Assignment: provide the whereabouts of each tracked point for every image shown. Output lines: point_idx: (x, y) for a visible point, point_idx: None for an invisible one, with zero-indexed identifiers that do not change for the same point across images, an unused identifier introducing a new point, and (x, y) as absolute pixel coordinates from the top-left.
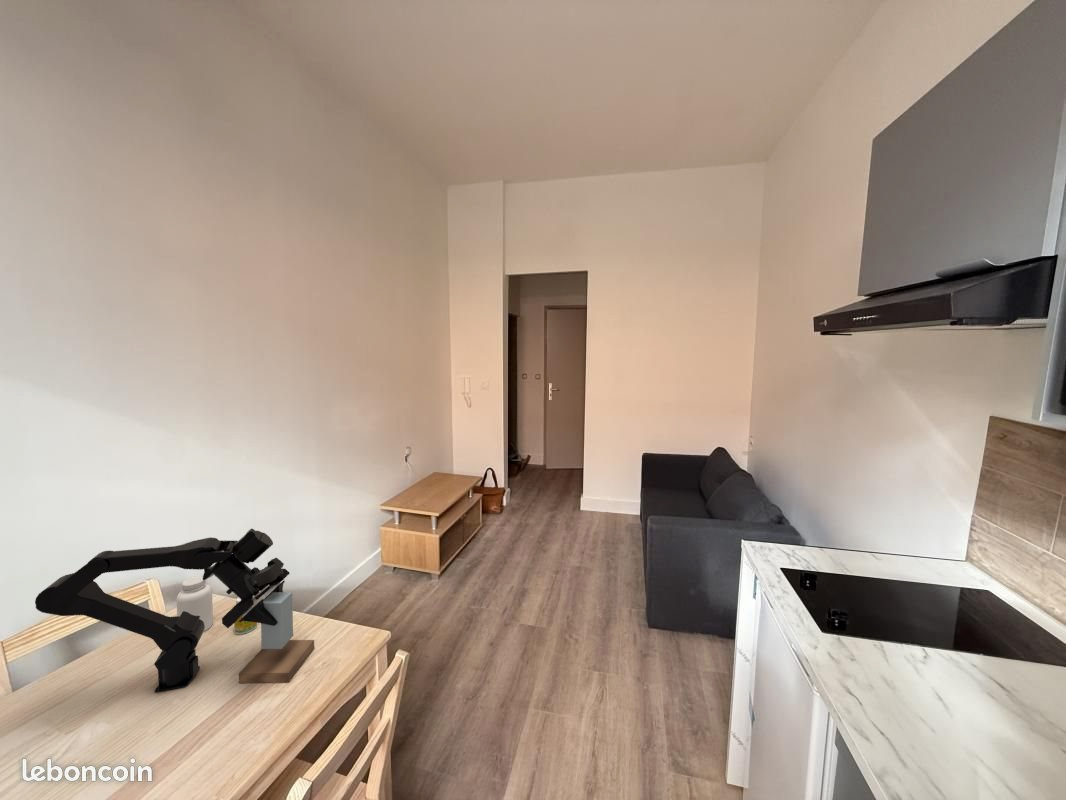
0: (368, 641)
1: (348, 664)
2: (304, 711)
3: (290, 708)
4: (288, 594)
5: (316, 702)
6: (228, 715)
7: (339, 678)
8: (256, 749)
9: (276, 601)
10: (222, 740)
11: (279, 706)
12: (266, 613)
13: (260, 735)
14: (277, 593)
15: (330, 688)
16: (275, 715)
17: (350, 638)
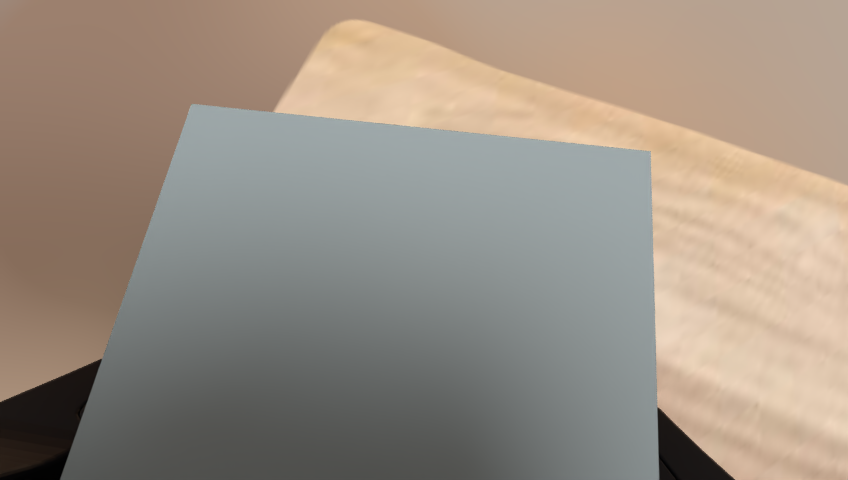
0: (344, 44)
1: (463, 77)
2: (676, 146)
3: (664, 196)
4: (271, 145)
5: (638, 122)
6: (701, 419)
7: (531, 86)
8: (833, 233)
9: (564, 290)
10: (813, 373)
11: (655, 238)
12: (663, 425)
13: (780, 246)
14: (135, 454)
15: (577, 99)
16: (696, 234)
17: (309, 110)
